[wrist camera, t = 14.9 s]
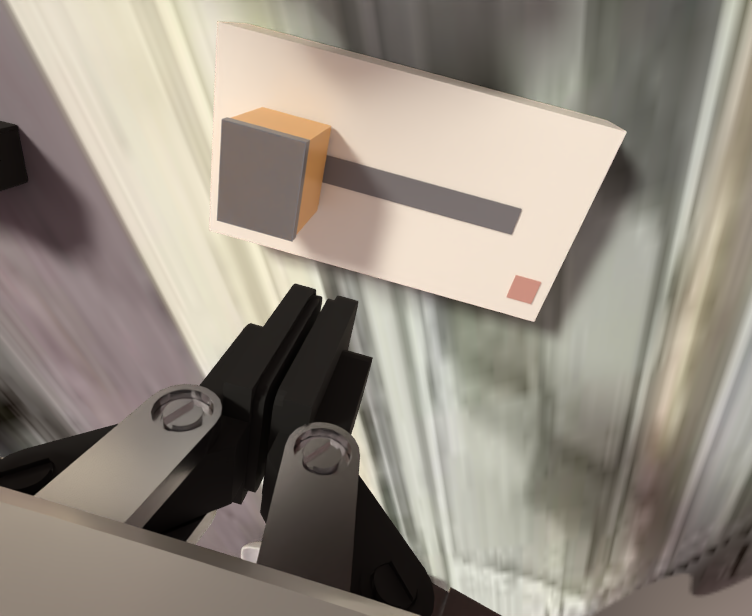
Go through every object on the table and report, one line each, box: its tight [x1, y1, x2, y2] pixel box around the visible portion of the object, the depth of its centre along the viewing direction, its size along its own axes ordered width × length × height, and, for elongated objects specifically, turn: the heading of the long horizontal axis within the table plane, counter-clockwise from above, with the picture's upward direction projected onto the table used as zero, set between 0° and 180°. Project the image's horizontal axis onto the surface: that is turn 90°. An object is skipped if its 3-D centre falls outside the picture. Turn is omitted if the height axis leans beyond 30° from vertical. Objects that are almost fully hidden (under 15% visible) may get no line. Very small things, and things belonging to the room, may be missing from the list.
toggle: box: [217, 107, 331, 242], centre depth 25 cm, size 4×5×5 cm
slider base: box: [209, 21, 626, 322], centre depth 29 cm, size 22×12×4 cm, turn 77°
